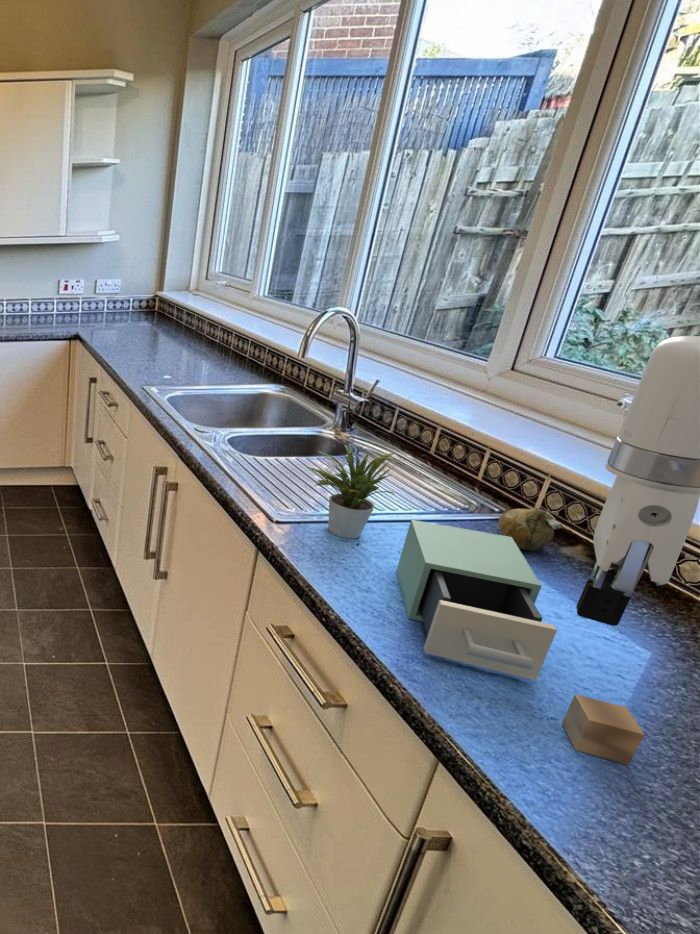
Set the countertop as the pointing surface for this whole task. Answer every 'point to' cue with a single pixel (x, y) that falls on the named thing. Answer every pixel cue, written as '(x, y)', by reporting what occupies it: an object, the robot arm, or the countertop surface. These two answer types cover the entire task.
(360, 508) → the house plant
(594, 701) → the block
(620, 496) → the robot arm
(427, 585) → the beige cabinet drawer
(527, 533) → the onion
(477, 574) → the green drawer box
